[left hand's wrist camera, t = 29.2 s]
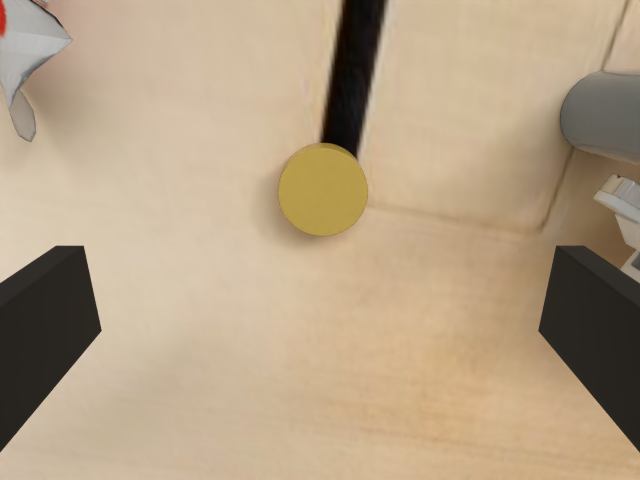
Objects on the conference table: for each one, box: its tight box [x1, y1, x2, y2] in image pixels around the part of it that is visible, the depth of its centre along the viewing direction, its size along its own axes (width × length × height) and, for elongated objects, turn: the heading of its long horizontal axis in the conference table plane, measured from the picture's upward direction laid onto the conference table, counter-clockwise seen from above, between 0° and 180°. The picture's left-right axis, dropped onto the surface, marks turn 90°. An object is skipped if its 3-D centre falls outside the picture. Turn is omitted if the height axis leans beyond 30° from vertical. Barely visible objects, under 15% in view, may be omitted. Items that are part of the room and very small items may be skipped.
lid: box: [278, 143, 368, 236], centre depth 27 cm, size 5×5×2 cm
